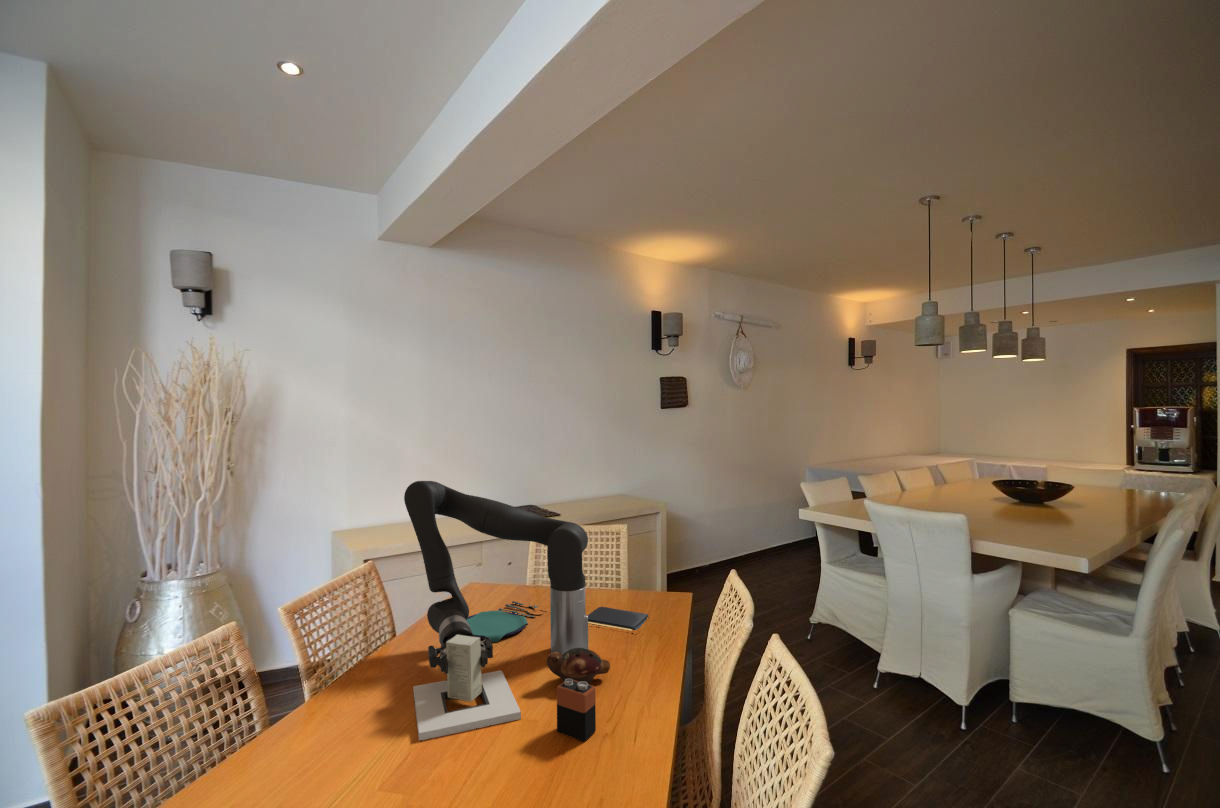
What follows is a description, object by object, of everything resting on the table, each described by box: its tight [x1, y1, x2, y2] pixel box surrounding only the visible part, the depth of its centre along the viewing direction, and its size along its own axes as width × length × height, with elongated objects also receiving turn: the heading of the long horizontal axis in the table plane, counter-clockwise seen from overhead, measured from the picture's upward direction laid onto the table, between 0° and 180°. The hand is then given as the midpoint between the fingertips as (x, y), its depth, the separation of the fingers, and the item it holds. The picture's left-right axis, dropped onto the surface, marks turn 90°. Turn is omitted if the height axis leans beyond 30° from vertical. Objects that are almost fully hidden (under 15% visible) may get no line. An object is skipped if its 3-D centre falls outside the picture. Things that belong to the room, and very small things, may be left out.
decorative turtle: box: [546, 648, 611, 685], centre depth 132 cm, size 10×15×8 cm, turn 112°
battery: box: [556, 679, 597, 742], centre depth 112 cm, size 4×7×10 cm, turn 59°
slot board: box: [412, 670, 522, 742], centre depth 122 cm, size 20×20×2 cm
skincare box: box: [446, 635, 482, 702], centre depth 122 cm, size 6×4×12 cm
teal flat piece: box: [466, 600, 539, 643], centre depth 169 cm, size 20×30×2 cm, turn 151°
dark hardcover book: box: [586, 606, 649, 631], centre depth 171 cm, size 20×2×15 cm
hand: (465, 666), depth 120 cm, fingers closed on skincare box, 7 cm apart
